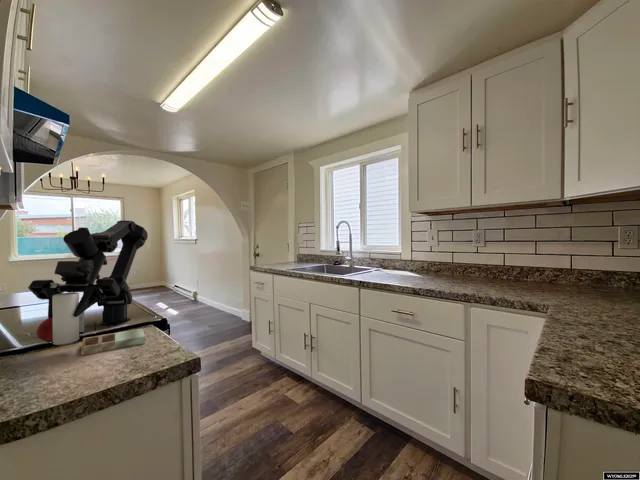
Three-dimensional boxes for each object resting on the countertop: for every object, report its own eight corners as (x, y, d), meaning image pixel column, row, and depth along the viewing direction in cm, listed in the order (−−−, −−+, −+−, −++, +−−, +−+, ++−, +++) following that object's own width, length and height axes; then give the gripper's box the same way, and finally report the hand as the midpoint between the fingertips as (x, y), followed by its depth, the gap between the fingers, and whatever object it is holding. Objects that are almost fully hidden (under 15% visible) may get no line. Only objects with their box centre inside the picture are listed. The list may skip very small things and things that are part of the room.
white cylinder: (68, 336, 73) (68, 292, 73) (84, 337, 72) (84, 293, 72) (47, 343, 68) (46, 296, 68) (63, 345, 67) (63, 297, 67)
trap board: (81, 355, 69) (81, 347, 69) (83, 345, 75) (83, 338, 75) (145, 343, 77) (145, 336, 77) (142, 334, 84) (142, 328, 84)
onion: (69, 337, 81) (69, 311, 80) (59, 345, 75) (59, 316, 75) (44, 340, 79) (44, 312, 78) (31, 348, 73) (31, 318, 73)
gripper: (33, 249, 71) (-6, 301, 61) (115, 249, 76) (92, 298, 65) (54, 274, 79) (24, 325, 69) (127, 273, 84) (109, 320, 73)
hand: (62, 316), depth 69 cm, fingers closed on white cylinder, 5 cm apart
